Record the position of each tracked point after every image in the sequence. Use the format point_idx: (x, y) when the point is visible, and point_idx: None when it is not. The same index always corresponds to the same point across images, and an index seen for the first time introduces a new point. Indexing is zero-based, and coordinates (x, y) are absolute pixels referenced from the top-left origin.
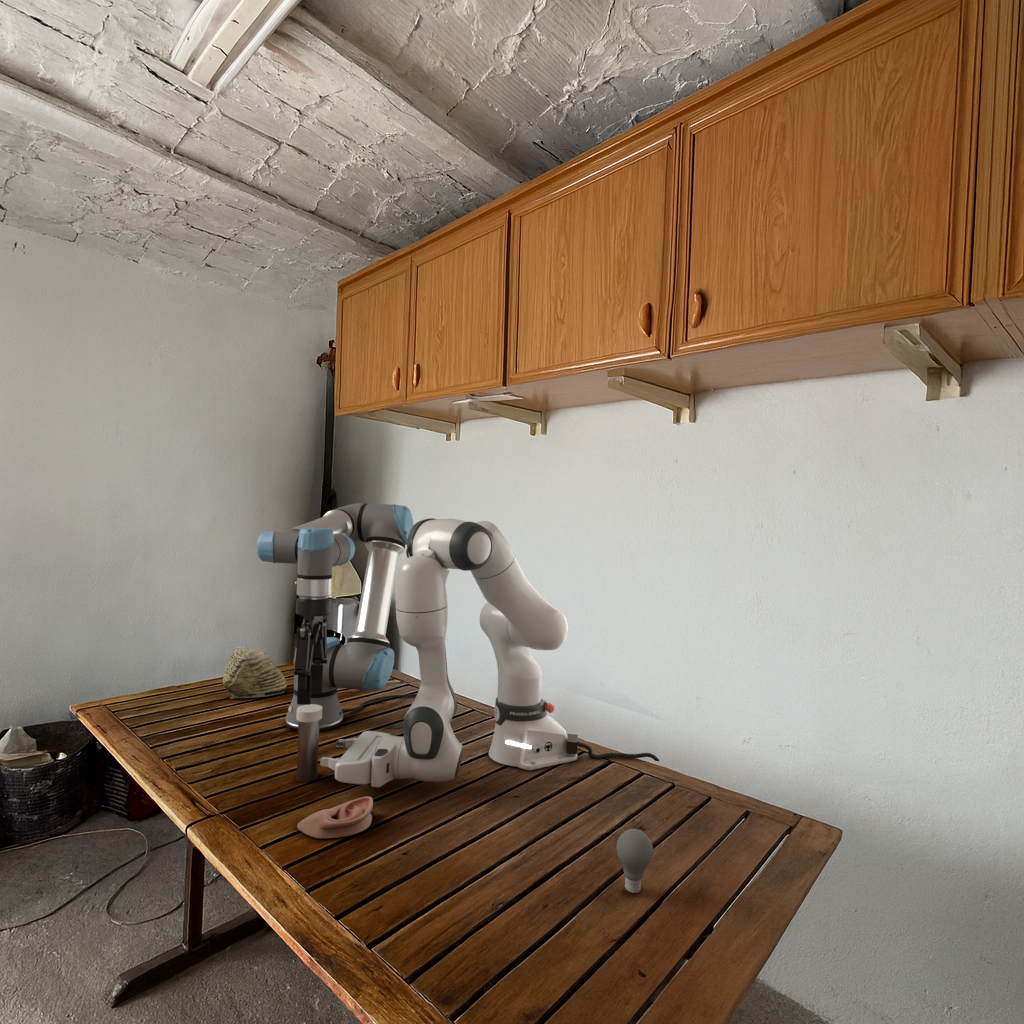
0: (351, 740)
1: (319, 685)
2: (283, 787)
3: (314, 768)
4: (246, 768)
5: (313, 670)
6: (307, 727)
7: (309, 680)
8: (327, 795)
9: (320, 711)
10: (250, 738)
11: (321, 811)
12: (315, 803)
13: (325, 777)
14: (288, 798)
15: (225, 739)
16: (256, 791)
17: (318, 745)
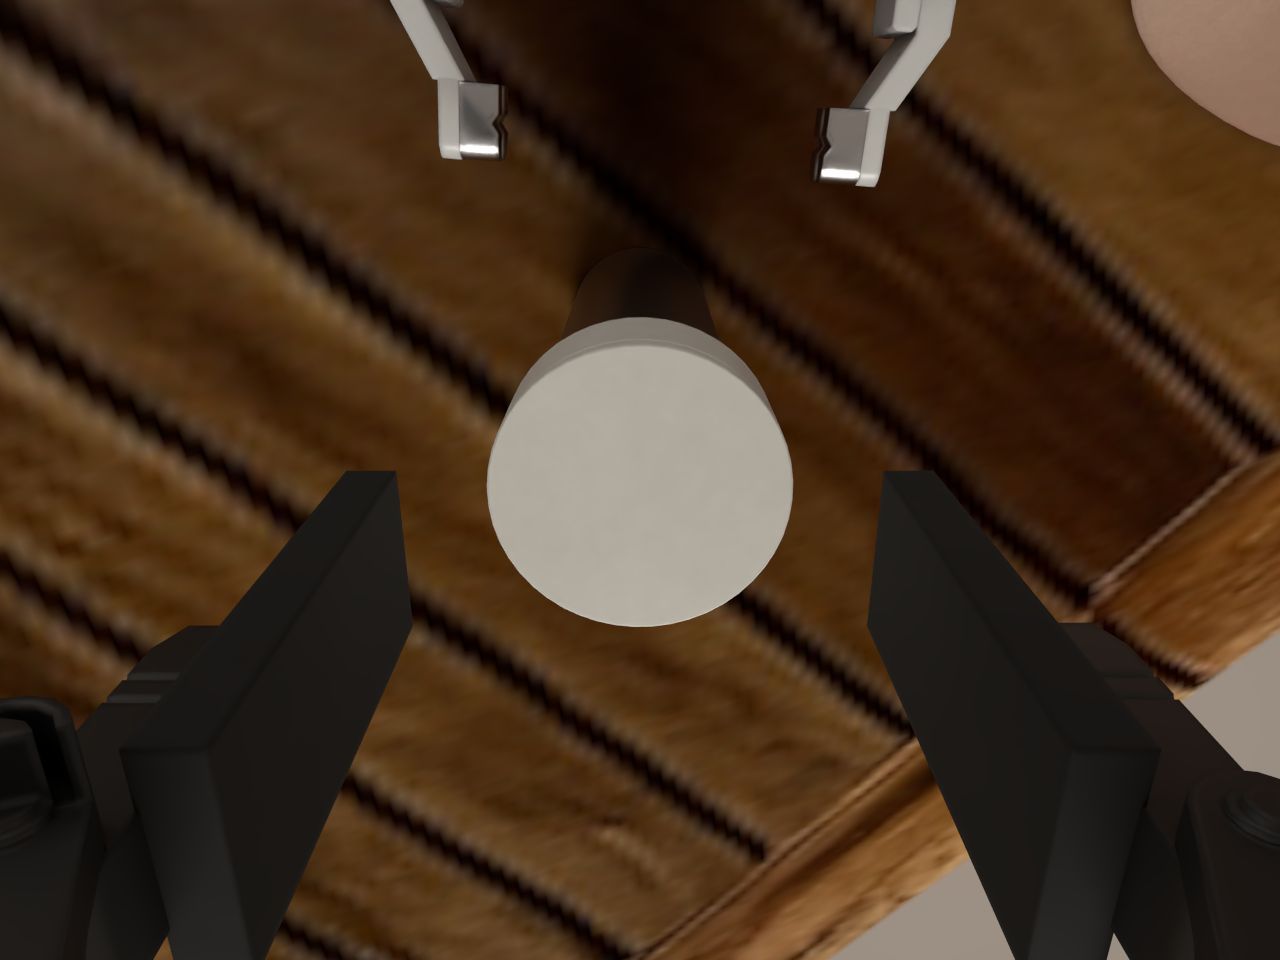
0: (433, 15)
1: (368, 552)
2: (785, 409)
3: (674, 269)
4: (560, 688)
5: (292, 825)
6: None
7: (1099, 686)
8: None
9: (675, 344)
10: None
11: (1277, 13)
12: (1000, 136)
13: (619, 192)
14: (929, 329)
15: None
16: (842, 534)
17: (630, 286)
